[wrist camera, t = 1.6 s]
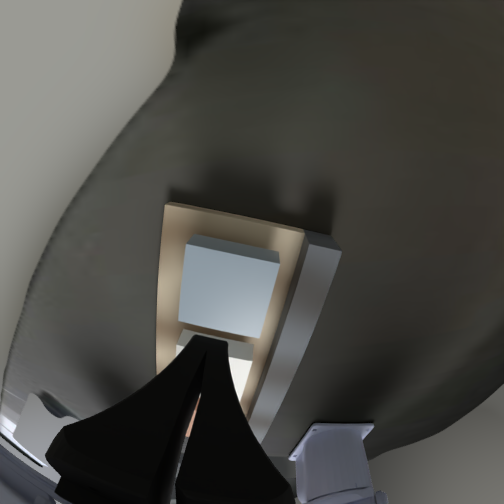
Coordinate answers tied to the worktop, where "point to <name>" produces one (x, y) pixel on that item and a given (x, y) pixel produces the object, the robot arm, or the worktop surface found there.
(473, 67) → the worktop surface
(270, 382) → the keypad base
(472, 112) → the worktop surface
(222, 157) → the worktop surface
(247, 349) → the key middle
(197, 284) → the key slate
